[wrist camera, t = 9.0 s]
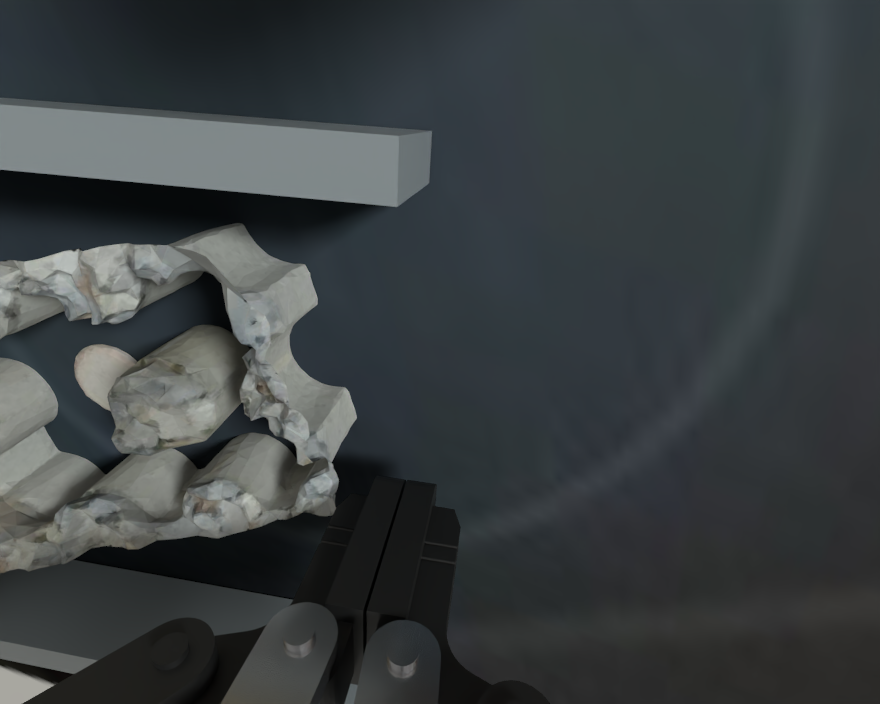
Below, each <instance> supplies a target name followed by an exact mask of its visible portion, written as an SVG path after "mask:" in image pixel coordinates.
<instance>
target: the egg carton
mask: <svg viewBox="0 0 880 704" xmlns="http://www.w3.org/2000/svg"><path fill="white" fill-rule="evenodd" d="M203 272H207V273H210V274H212V275H214V276H215V278H216V279H217V280H218V281H219V282H220V283H221V284H222V289H223V295H224V301H225V306H226V311H227V314H228V316H229V319H230V322H231V326H232V331H233V333H231V332H230V331H228V330H226V329H224V328H222V327H219V326H214V325H199V326H194V327H192V328H191V329H189V330H187V331H185V332H184V333H182V334H180V335H179V336H177V337H175V338H173V339H172V340H170V341H169V342H167V343H165V344H164V345H162V346H161V347H159V348H157V349H156V350H154V351H153V352H151V353H150V354H148V355H147V356H145V357H144V358H142V359H140V360H139V361H138V362H137V361H136V360H135V359H134V358H133V357H132V356H130V355H129V354H128V353H126V352H124V351H122V350H120V349H118V348H116V347H112V346H108V345H104V344H94V345H90V346H88V347H86V348H84V349H82V350H81V351H80V352H79V353H78V355H77V356H76V359H75V365H74V370H75V377H76V379H77V381H78V383H79V385H80V387H81V388H82V389H83V391H84V392H85V394H86V396H88V397H89V398H91V399H92V400H93V401H95V402H97V403H98V404H99V405H100V406H102V407H103V408H105V409H107V410H110V411H111V413H112V416H113V418H114V422H115V425H116V429H115V431H114V433H113V436H112V438H111V439H112V441H113V443H114V444H115V446H116V448H117V449H118V450H119V451H120V452H121V453H126V454H130V455H129V456H128V457H127V458H126V459H124V460H123V461H122V462H121V463H120V464H119V465H117V466H116V467H115V468H114V469H113V470H111V471H110V472H109V473H108V474H107V475H106V474H104V473H103V472H102V471H101V470H100V469H99V468H98V467H97V466H96V465H94V464H93V463H91V462H90V461H88V460H87V459H85V458H82V457H80V456H78V455H74V454H70V453H65V452H61V451H59V450H58V449H57V448H56V446H55V445H54V443H53V441H52V440H51V438H50V437H49V435H48V433H47V432H46V430H45V428H44V426H45V425H46V424H48V423H49V422H51V421H53V420H54V419H55V417H56V416H57V412H58V402H57V399H56V396H55V394H54V392H53V390H52V389H51V387H50V386H49V385H48V384H47V382H46V381H45V380H44V379H43V378H42V377H41V376H40V375H39V374H38V373H37V372H36V371H35V370H33V369H32V368H31V367H29V366H28V365H25V364H23V363H21V362H19V361H15V360H12V359H7V358H0V573H5V572H7V571H10V570H14V569H24V570H26V571H28V572H29V571H32V570H35V569H38V568H43V567H49V566H53V565H56V564H60V563H61V564H65V563H68V562H70V561H71V560H73V559H75V558H77V557H78V556H80V555H82V554H83V553H85V552H86V551H88V550H89V549H91V548H96V547H102V546H110V547H123V548H126V549H140V548H143V547H145V546H147V545H149V544H151V543H153V542H155V541H157V540H168V539H179V538H186V537H192V536H197V535H198V536H204V537H211V538H221V537H225V536H228V535H231V534H235V533H239V532H243V531H247V530H251V529H254V528H258V527H261V526H264V525H266V524H268V523H271V522H273V521H275V520H286V519H289V518H292V517H295V516H297V515H299V514H301V513H303V512H306V513H311V514H315V515H318V516H332V515H333V514H334V512H335V510H336V505H335V495H336V491H337V488H338V483H339V479H338V476H337V474H336V471H335V468H334V466H333V464H332V461H333V459H334V457H335V455H336V453H337V451H338V449H339V447H340V444H341V443H342V441H343V440H344V438H345V437H346V435H347V433H348V431H349V429H350V427H351V426H352V424H353V423H354V421H355V420H356V419H357V416H356V412H355V408H354V406H353V403H352V401H351V397H350V394H349V391H348V390H347V389H346V388H345V387H336V386H329V385H326V384H323V383H320V382H318V381H316V380H314V379H312V378H311V377H310V376H308V375H307V374H306V373H305V372H304V371H303V370H302V369H301V368H300V367H299V366H298V364H297V363H296V361H295V360H294V358H293V356H292V353H291V350H290V340H289V336H290V332H291V330H292V327H293V325H294V324H295V323H296V322H297V321H298V320H299V319H300V318H302V317H303V316H304V315H305V314H306V313H307V312H309V311H310V310H311V309H312V308H314V307H315V306H316V305H317V302H318V298H317V295H316V292H315V289H314V286H313V284H312V280H311V277H310V272H309V271H308V269H307V267H306V265H304V264H292V263H288V262H284V261H281V260H279V259H276V258H274V257H272V256H270V255H268V254H267V253H266V252H265V251H263V250H262V249H261V248H260V247H259V246H258V245H257V244H256V243H255V241H254V240H253V239H252V237H251V236H250V235H249V233H248V231H247V230H246V228H245V226H244V225H243V224H241V223H234V224H230V225H225V226H220V227H216V228H212V229H209V230H206V231H203V232H200V233H197V234H194V235H191V236H189V237H187V238H184V239H181V240H179V241H177V242H175V243H172V244H169V245H133V244H129V243H126V244H116V245H109V246H102V247H97V248H94V249H90V250H86V251H81V249H75V250H69V251H63V252H60V253H57V254H54V255H50V256H47V257H44V258H40V259H36V260H31V261H26V262H22V261H14V260H5V261H0V339H1V338H2V337H4V336H6V335H9V334H13V333H16V332H18V331H20V330H23V329H25V328H27V327H29V326H32V325H34V324H36V323H38V322H40V321H42V320H44V319H47V318H49V317H51V316H53V315H56V314H58V313H61V312H63V311H65V314H66V317H67V318H68V320H69V321H74V320H80V319H86V318H91V317H92V324H93V325H98V324H101V323H105V322H109V323H111V324H119V323H121V322H123V321H125V320H127V319H130V318H132V317H133V316H134V315H135V314H136V313H137V312H138V311H139V310H140V309H141V308H143V307H145V306H147V305H149V304H151V303H153V302H155V301H157V300H159V299H161V298H163V297H165V296H167V295H169V294H171V293H173V292H175V291H176V290H178V289H180V288H182V287H184V286H186V285H188V284H190V283H192V282H195V281H196V280H197V279H198V278H199V277H200V276H201V275H202V273H203ZM248 346H251V347H252V348H251V349H249V348H248ZM241 403H244V412H245V414H246V415H247V416H248V417H249V418H250V420H251V421H253V420H255V419H258V418H261V417H265V418H266V419H268V420H269V428H270V430H271V431H272V432H273V434H274V435H275V436H279V437H283V438H285V439H288V440H289V441H291V442H292V443H294V444H295V446H296V454H297V459H296V458H295V456H294V455H293V453H292V452H291V451H290V450H289V449H288V448H287V447H286V446H285V445H283V444H282V443H281V442H280V441H278V440H276V439H274V438H272V437H271V436H269V435H265V434H258V433H246V434H242V435H239V436H237V437H236V438H234V439H232V440H231V441H230V442H229V443H228V444H227V445H226V446H225V447H224V448H223V449H222V450H221V451H220V452H219V453H218V454H217V455H216V456H215V457H214V458H213V460H212V461H211V462H210V463H209V464H208V465H207V466H206V467H205V468H203V469H197V468H196V466H195V465H194V464H193V463H192V462H191V461H190V460H189V459H188V458H187V457H186V456H185V455H183V454H182V453H180V452H178V451H177V450H175V449H172V448H175V447H180V446H184V445H189V444H194V443H199V442H203V441H206V440H207V439H208V438H209V437H210V436H211V435H212V434H213V433H214V432H215V431H216V430H217V429H218V428H219V427H220V426H221V424H222V423H223V422H224V421H225V420H226V419H227V418H228V416H229V415H230V414H231V413H232V412H233V411H234V410H235V409H236V408H237V407H238V406H239V405H240V404H241Z"/></svg>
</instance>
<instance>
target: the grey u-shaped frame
mask: <svg viewBox="0 0 880 704" xmlns="http://www.w3.org/2000/svg"><path fill="white" fill-rule="evenodd" d="M431 138H432V131H426V130H413V129H400V128H387V127H375V126H362V125H349V124H336V123H323V122H310V121H297V120H284V119H271V118H258V117H245V116H233V115H220V114H207V113H194V112H181V111H168V110H155V109H142V108H129V107H116V106H104V105H91V104H78V103H65V102H52V101H39V100H26V99H13V98H0V170H10V171H21V172H32V173H42V174H53V175H64V176H74V177H85V178H95V179H106V180H117V181H127V182H138V183H149V184H159V185H170V186H180V187H191V188H202V189H212V190H223V191H234V192H244V193H255V194H265V195H276V196H287V197H297V198H308V199H319V200H329V201H340V202H350V203H361V204H372V205H382V206H393V207H398V206H399V205H400V204H402V203H403V202H404V201H406V200H407V199H409V198H410V197H411V196H413V195H414V194H415V193H417V192H418V191H419V190H421V189H422V188H424V187H425V186H426V185H428V184H429V176H430V157H431ZM292 601H293V600H292V599H286V598H281V597H275V596H270V595H264V594H259V593H253V592H248V591H242V590H237V589H231V588H226V587H220V586H215V585H209V584H204V583H198V582H193V581H187V580H181V579H176V578H170V577H165V576H159V575H154V574H148V573H143V572H137V571H132V570H126V569H121V568H115V567H110V566H104V565H99V564H93V563H88V562H82V561H77V560H71V561H70V562H68V563H65V564H61V563H60V564H56V565H53V566H49V567H43V568H38V569H35V570H32V571H29V572H28V571H26V570H24V569H14V570H10V571H7V572H5V573H0V659H5V660H9V661H14V662H19V663H24V664H29V665H34V666H38V667H43V668H48V669H53V670H58V671H63V672H67V673H72V674H75V673H77V672H79V671H81V670H82V669H84V668H86V667H88V666H89V665H91V664H93V663H95V662H96V661H98V660H100V659H102V658H103V657H105V656H107V655H109V654H110V653H112V652H114V651H116V650H117V649H119V648H121V647H123V646H124V645H126V644H128V643H130V642H131V641H133V640H135V639H137V638H138V637H140V636H142V635H144V634H145V633H147V632H149V631H151V630H152V629H154V628H156V627H158V626H160V625H162V624H164V623H166V622H168V621H171V620H174V619H178V618H186V617H189V618H197V619H200V620H202V621H204V622H206V623H207V624H208V625H209V626H210V628H211V629H212V631H213V634H214V636H216V635H223V634H230V633H237V632H244V631H250V630H254V629H257V628H260V627H263V626H265V625H267V624H268V622H269V621H270V620H271V619H272V618H273V617H274V616H275V615H276V614H277V613H278V612H279V611H281V610H283V609H284V608H286V607H288V606H290V604H291V603H292ZM357 686H358V685H355V684H350V687H349V690H348V694H347V697H346V700H345V704H354V700H355V696H356V691H357Z"/></svg>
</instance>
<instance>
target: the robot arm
mask: <svg viewBox="0 0 880 704" xmlns="http://www.w3.org/2000/svg"><path fill="white" fill-rule="evenodd" d="M436 489H437V485H436V484H431V483H425V482H418V481H411V480H407V482H406V480H404V479H397V478H391V477H384V476H378V475H377V476H376V477H375V479H374V481H373V484H372V487H371V489H370V492H369V494H368V496H365V495H358V494H351V495H350V496H349V497H347V498H346V499H345V500H344V501H343V502H342V503H341V504H340V505H339V506H337V507H336V510H335V512H334V514H333V516H332V518H331V520H330V522H329V525H328V529H326V531H325V533H324V535H323V537H322V540H321V543H320V544H319V546H318V548H317V550H316V552H315V555H314V557H313V559H312V561H311V563H310V565H309V567H308V570H307V572H306V574H305V576H304V578H303V580H302V582H301V585H300V587H299V589H298V591H297V593H296V595H295V597H294V599H293V601H292V603H291V604H290V606H288V607H286V608H284V609H283V610H281V611H279V612H278V613H277V614H276V615H275V616H274V617H273V618H272V619H271V620H270V621H269V622H268V624H267V625H265V626H263V627H260V628H257V629H254V630H250V631H244V632H237V633H230V634H223V635H216V636H214V634H213V631H212V629H211V628H210V626H209V625H208V624H207V623H206V622H204V621H202V620H200V619H197V618H189V617H186V618H178V619H174V620H171V621H168V622H166V623H164V624H162V625H160V626H158V627H156V628H154V629H152V630H151V631H149V632H147V633H145V634H144V635H142V636H140V637H138V638H137V639H135V640H133V641H131V642H130V643H128V644H126V645H124V646H123V647H121V648H119V649H117V650H116V651H114V652H112V653H110V654H109V655H107V656H105V657H103V658H102V659H100V660H98V661H96V662H95V663H93V664H91V665H89V666H88V667H86V668H84V669H82V670H81V671H79V672H77V673H75V674H74V675H72V676H70V677H68V678H67V679H65V680H63V681H61V682H60V683H58V684H56V685H54V686H53V687H51V688H49V689H47V690H46V691H44V692H42V693H40V694H39V695H37V696H35V697H33V698H32V699H30V700H28V701H26V702H24V703H23V704H345V700H346V697H347V694H348V690H349V687H350V684H355V685H358V686H357V691H356V696H355V700H354V704H550V703H549V702H548V700H547V699H546V698H545V697H544V696H543V695H542V694H541V693H540V692H539V691H538V690H536V689H535V688H533V687H532V686H530V685H528V684H526V683H523V682H520V681H513V680H509V681H502V682H498V683H496V684H494V685H491V684H489V683H487V682H486V681H484V680H482V679H481V678H479V677H477V676H475V675H474V674H472V673H471V672H469V671H468V670H466V669H465V668H464V667H463V666H462V665H461V664H460V663H459V662H458V661H457V660H456V658H455V657H454V655H453V654H452V652H451V650H450V647H449V645H448V641H447V627H448V620H449V613H450V606H451V599H452V591H453V584H454V577H455V570H456V561H457V552H458V544H459V535H460V524H459V522H458V519H457V516H456V513H455V510H454V509H448V508H442V507H436V506H435V501H436Z"/></svg>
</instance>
